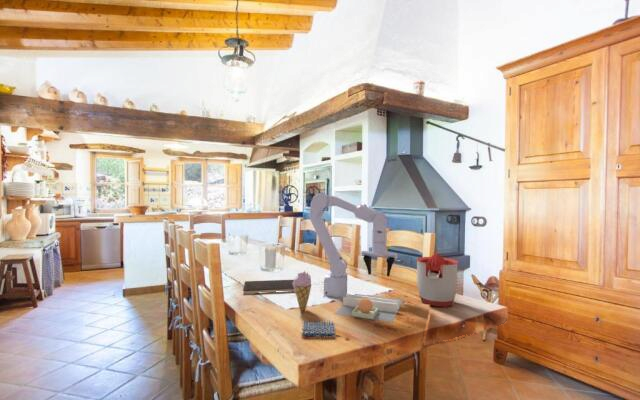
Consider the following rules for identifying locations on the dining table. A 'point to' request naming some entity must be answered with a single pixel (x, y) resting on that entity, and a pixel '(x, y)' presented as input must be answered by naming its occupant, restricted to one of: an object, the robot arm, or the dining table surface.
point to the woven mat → (318, 330)
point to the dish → (369, 315)
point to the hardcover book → (267, 286)
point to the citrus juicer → (437, 280)
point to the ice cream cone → (302, 289)
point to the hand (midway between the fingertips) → (378, 274)
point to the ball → (365, 305)
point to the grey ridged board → (384, 305)
